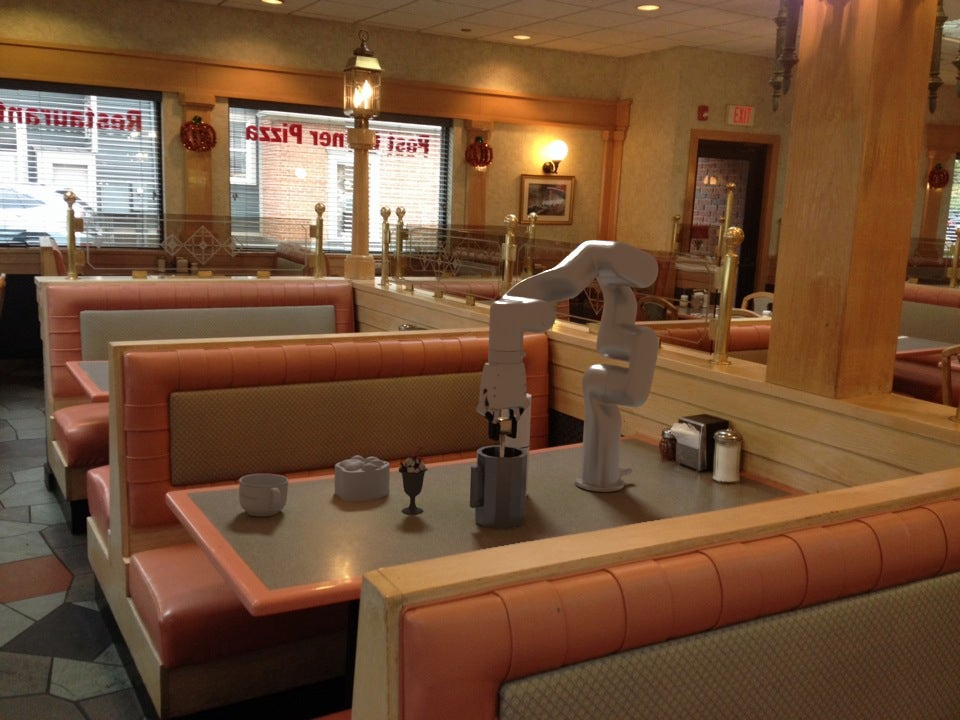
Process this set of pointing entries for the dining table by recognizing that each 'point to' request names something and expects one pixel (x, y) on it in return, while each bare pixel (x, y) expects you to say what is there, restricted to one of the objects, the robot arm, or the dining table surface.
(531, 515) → the dining table surface
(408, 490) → the sundae
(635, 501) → the dining table surface
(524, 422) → the cylindrical container
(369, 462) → the lumpy-topped squat cylinder
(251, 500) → the teacup
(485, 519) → the press carafe
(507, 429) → the plunger
